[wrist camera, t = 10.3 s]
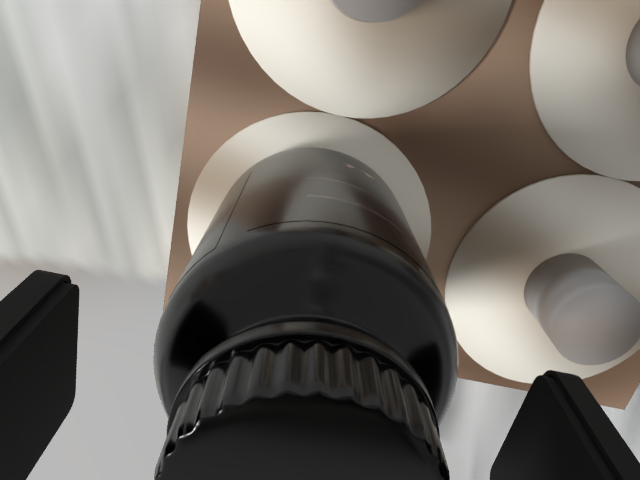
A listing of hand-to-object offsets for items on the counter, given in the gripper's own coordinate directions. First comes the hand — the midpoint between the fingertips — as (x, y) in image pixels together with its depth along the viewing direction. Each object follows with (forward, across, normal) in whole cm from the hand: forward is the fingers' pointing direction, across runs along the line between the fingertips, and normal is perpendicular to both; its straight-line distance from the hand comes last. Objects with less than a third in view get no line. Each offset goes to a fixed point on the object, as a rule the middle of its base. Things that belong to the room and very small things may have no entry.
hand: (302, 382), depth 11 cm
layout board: (+11, -5, -4) cm, 12 cm away
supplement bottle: (+9, 0, +1) cm, 9 cm away
